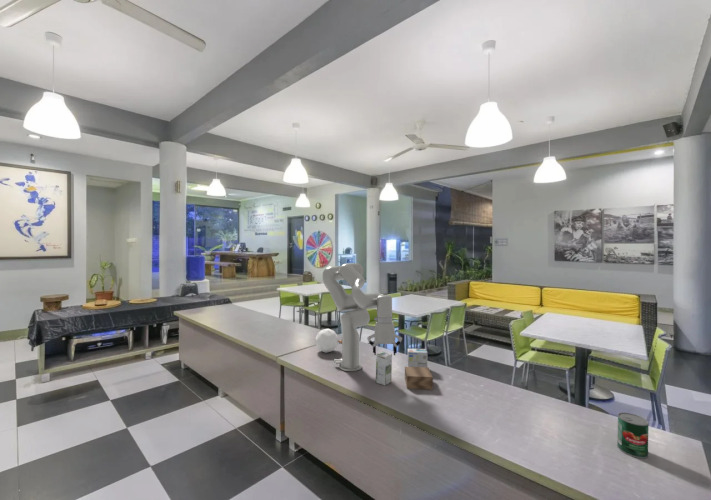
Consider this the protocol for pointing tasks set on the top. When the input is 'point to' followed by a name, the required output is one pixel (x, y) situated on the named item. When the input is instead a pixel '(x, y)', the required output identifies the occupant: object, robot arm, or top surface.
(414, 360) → the light bulb box
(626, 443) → the canned tomato
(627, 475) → the top surface
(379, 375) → the syrup box
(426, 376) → the walnut block
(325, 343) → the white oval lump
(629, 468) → the top surface
